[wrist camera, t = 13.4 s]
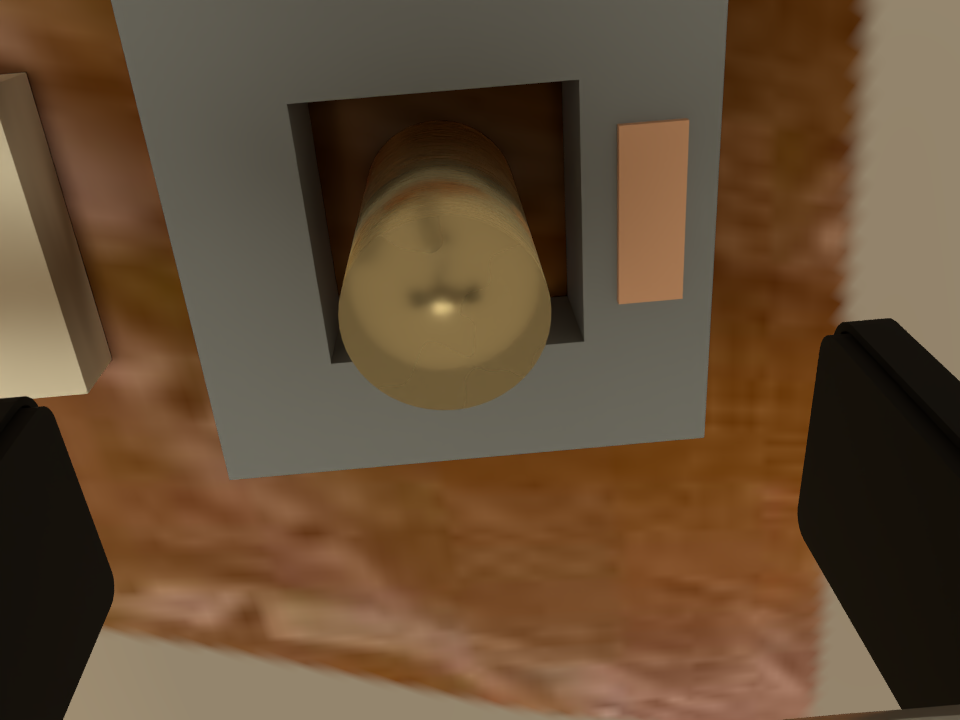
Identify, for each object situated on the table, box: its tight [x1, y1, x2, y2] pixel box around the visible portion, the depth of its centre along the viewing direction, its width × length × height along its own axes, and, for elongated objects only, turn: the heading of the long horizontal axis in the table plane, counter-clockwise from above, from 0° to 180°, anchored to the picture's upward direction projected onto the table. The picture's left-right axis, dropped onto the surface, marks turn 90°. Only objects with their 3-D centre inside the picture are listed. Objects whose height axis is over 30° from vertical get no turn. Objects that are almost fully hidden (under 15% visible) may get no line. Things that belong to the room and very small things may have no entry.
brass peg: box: [338, 120, 551, 410], centre depth 20 cm, size 4×4×8 cm
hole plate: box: [111, 0, 728, 480], centre depth 22 cm, size 13×13×3 cm
